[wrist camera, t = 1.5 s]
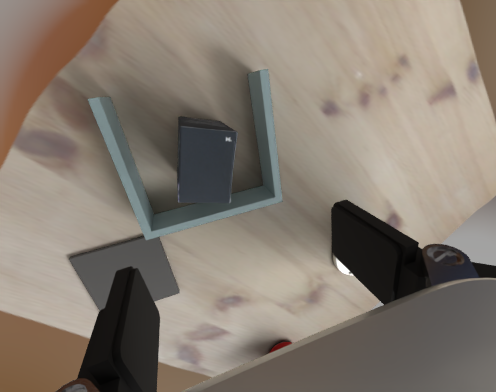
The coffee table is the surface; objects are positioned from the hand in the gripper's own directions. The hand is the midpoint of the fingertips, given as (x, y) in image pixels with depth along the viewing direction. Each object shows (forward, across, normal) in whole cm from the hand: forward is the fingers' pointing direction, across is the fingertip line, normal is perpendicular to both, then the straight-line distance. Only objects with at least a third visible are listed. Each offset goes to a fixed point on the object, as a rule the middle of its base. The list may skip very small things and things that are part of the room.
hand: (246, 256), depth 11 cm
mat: (+25, +15, +17) cm, 33 cm away
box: (+25, 0, 0) cm, 25 cm away
